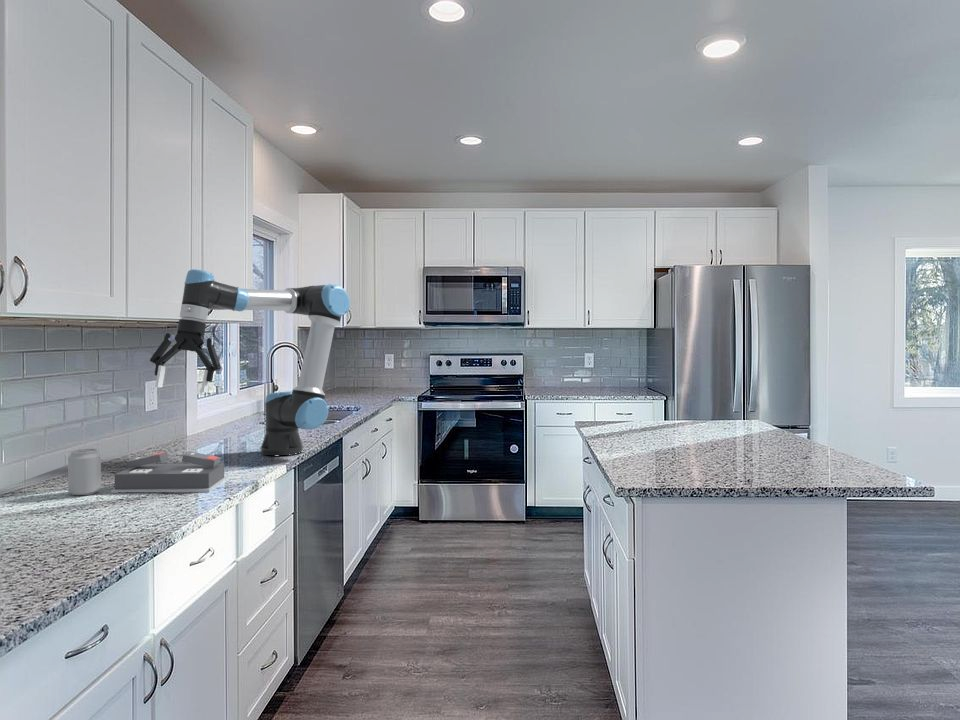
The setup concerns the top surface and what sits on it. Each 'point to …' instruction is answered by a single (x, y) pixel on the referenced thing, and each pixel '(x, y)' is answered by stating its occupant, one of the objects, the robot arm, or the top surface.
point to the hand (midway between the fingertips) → (181, 389)
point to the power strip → (169, 478)
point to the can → (84, 472)
